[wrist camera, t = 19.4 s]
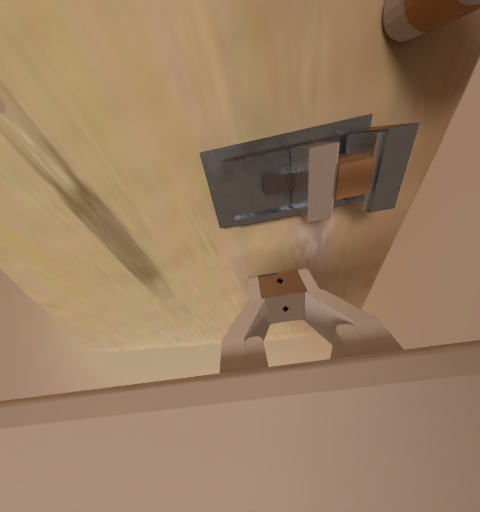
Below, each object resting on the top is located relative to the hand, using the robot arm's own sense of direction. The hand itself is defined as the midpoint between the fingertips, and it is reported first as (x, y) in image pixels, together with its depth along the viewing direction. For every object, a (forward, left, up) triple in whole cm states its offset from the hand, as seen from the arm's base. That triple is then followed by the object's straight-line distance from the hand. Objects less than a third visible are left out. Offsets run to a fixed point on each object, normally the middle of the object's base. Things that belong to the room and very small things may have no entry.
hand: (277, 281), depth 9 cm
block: (0, +12, -23) cm, 26 cm away
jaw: (0, +6, -22) cm, 23 cm away
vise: (0, +6, -24) cm, 25 cm away
